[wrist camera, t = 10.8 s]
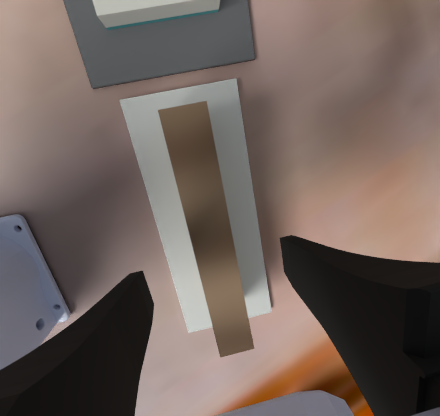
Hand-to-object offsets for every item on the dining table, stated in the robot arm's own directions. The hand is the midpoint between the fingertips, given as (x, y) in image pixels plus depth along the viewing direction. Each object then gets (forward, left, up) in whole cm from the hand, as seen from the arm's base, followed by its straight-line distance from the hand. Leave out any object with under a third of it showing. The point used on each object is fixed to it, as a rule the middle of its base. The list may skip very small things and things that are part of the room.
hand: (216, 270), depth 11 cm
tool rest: (0, 0, -7) cm, 7 cm away
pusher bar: (0, 0, -7) cm, 7 cm away
